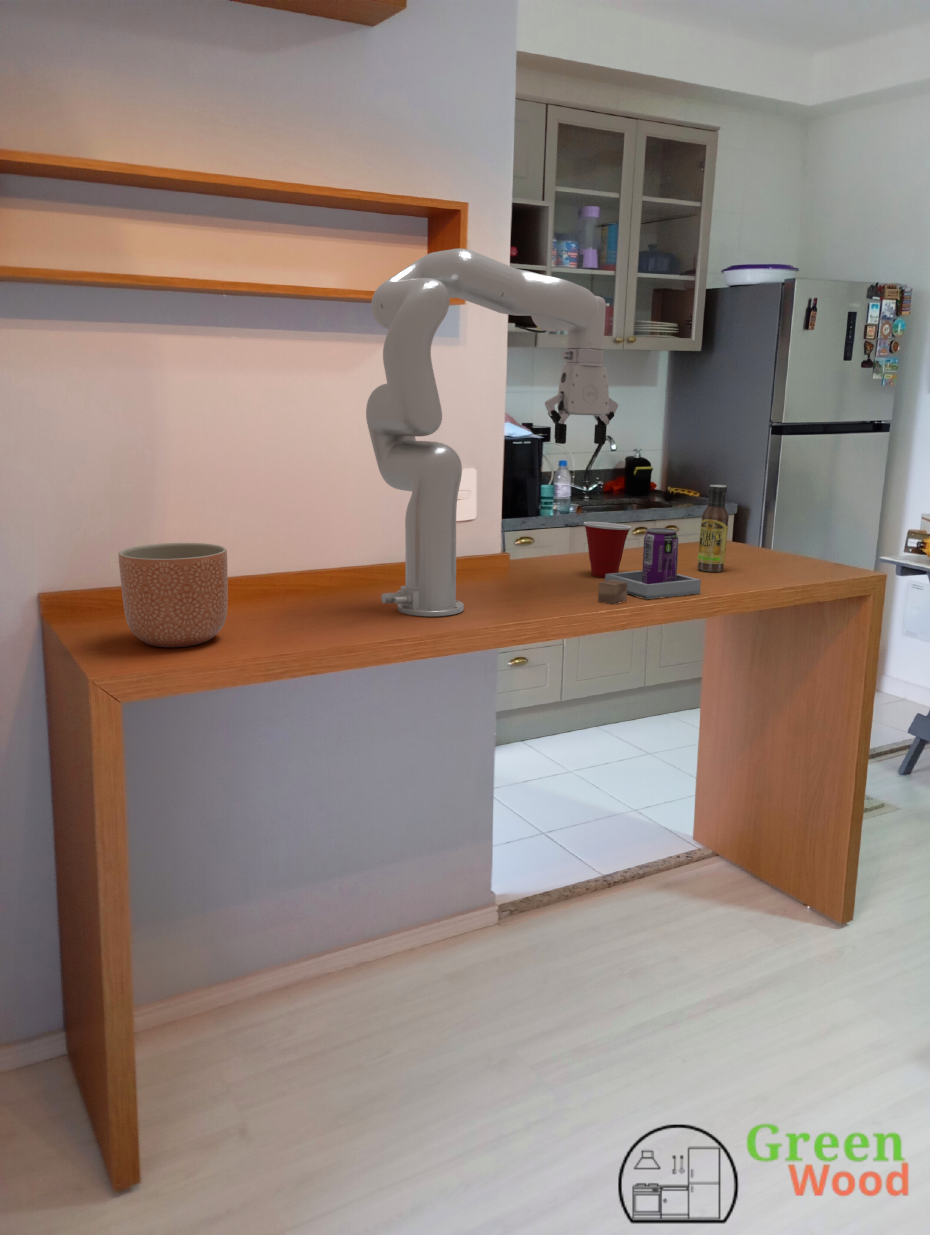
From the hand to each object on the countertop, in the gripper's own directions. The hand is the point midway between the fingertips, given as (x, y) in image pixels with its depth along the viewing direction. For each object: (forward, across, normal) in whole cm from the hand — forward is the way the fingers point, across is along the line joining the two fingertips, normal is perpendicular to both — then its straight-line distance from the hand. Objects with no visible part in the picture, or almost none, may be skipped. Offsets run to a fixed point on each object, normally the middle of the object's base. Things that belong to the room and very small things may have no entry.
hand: (580, 443), depth 210 cm
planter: (+33, -86, -12) cm, 92 cm away
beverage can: (+29, +14, -11) cm, 34 cm away
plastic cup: (+30, +14, +8) cm, 34 cm away
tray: (+30, +12, -11) cm, 34 cm away
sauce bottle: (+29, +40, +3) cm, 50 cm away
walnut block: (+30, -1, -17) cm, 35 cm away
